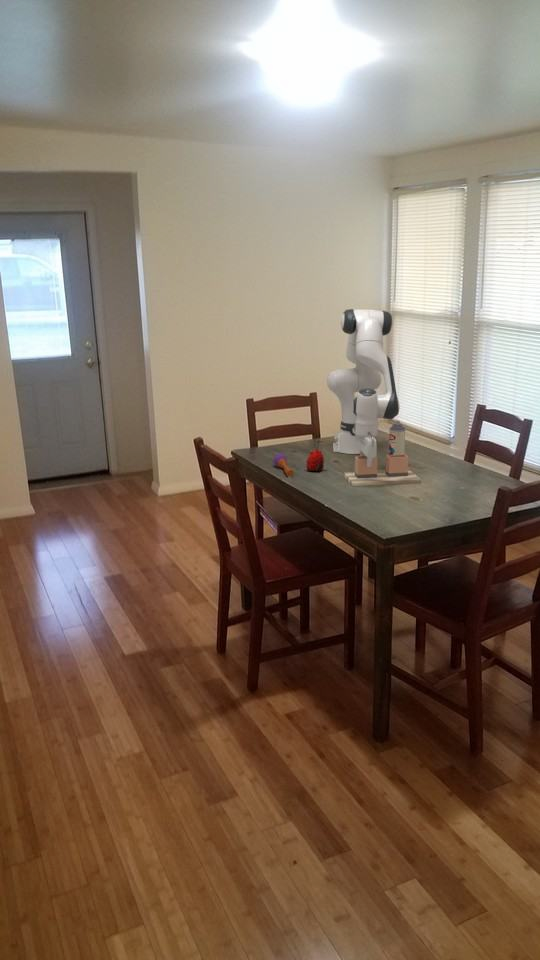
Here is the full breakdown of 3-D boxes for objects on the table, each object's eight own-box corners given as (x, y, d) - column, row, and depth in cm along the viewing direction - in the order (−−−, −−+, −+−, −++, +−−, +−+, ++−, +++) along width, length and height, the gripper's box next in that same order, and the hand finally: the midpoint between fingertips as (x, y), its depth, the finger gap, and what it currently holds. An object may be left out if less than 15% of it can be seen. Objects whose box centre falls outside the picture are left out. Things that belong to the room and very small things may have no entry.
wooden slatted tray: (343, 475, 309) (343, 461, 308) (408, 472, 313) (408, 458, 311) (352, 486, 294) (352, 471, 292) (420, 482, 297) (421, 468, 296)
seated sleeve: (388, 476, 301) (389, 457, 299) (385, 473, 305) (386, 455, 303) (407, 475, 302) (408, 457, 300) (404, 472, 306) (405, 454, 304)
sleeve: (373, 474, 305) (374, 455, 303) (376, 477, 301) (377, 458, 298) (354, 475, 304) (355, 456, 302) (357, 478, 300) (358, 459, 297)
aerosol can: (385, 464, 325) (386, 420, 320) (399, 463, 327) (401, 419, 321) (392, 468, 319) (394, 423, 313) (406, 467, 321) (408, 421, 315)
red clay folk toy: (319, 467, 322) (319, 434, 318) (327, 471, 316) (327, 437, 312) (303, 469, 319) (303, 436, 315) (311, 473, 313) (311, 439, 309)
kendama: (282, 469, 307) (271, 454, 325) (284, 482, 309) (273, 466, 327) (295, 465, 308) (283, 450, 326) (298, 478, 310) (286, 463, 328)
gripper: (381, 435, 287) (380, 469, 291) (367, 424, 307) (367, 456, 311) (365, 436, 287) (364, 470, 291) (353, 424, 306) (352, 457, 310)
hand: (365, 463), depth 301 cm, fingers open, 8 cm apart
